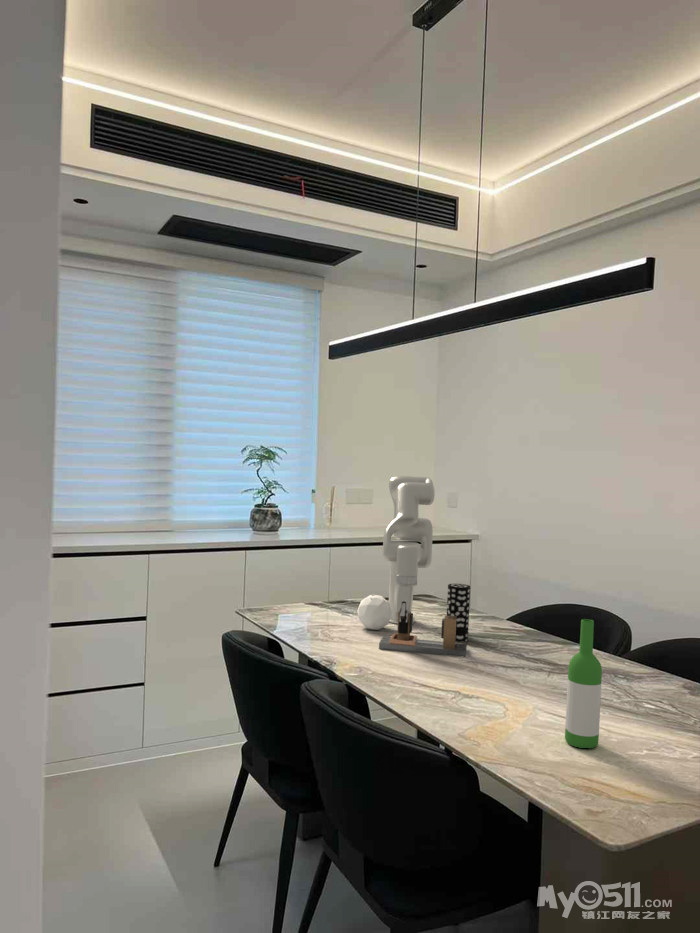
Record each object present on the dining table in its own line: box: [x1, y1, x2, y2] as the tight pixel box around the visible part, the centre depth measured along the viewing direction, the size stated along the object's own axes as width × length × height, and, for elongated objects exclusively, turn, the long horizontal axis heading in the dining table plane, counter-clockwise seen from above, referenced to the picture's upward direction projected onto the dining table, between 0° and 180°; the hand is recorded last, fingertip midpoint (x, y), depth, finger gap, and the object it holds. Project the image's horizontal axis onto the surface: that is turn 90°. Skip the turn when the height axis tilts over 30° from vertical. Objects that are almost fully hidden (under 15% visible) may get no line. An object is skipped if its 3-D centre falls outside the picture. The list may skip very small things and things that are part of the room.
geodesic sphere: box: [356, 594, 392, 631], centre depth 277 cm, size 14×14×14 cm
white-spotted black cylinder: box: [446, 583, 471, 643], centre depth 268 cm, size 8×8×20 cm
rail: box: [378, 614, 468, 658], centre depth 251 cm, size 10×30×12 cm, turn 80°
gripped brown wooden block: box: [396, 611, 414, 640], centre depth 252 cm, size 5×5×10 cm
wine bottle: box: [564, 618, 603, 749], centre depth 172 cm, size 8×8×30 cm
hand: (404, 630), depth 252 cm, fingers closed on gripped brown wooden block, 4 cm apart
